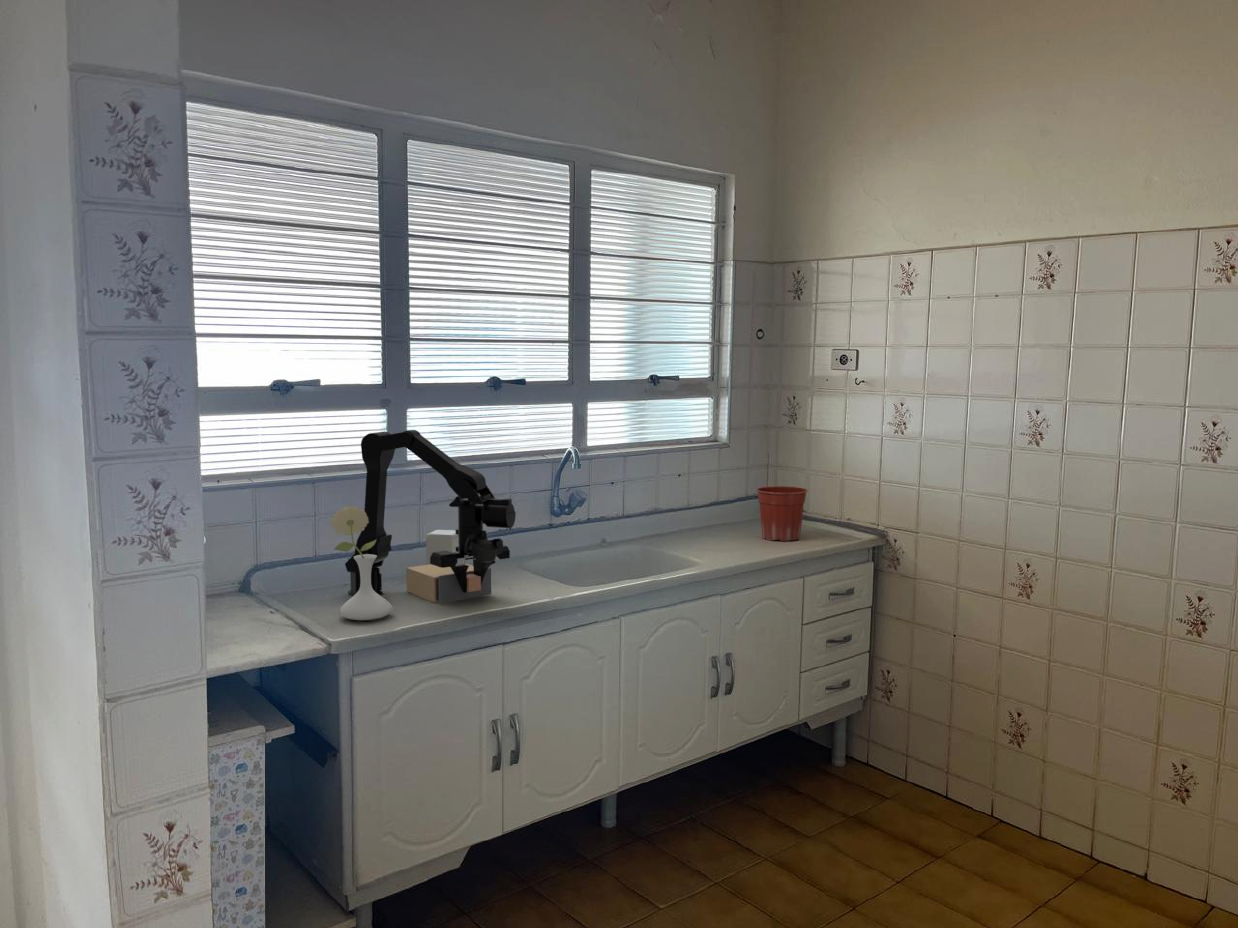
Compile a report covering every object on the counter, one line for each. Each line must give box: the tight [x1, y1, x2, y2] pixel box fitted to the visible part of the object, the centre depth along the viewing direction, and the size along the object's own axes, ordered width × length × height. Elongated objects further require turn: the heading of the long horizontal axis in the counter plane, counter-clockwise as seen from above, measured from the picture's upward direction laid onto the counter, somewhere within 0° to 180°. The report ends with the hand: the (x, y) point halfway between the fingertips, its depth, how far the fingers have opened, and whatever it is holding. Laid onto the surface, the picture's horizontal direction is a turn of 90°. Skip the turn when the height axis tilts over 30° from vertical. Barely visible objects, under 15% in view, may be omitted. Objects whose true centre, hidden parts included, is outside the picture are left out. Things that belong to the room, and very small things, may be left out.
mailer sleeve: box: [405, 563, 474, 604], centre depth 237 cm, size 14×14×6 cm
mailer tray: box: [436, 567, 492, 604], centre depth 233 cm, size 14×19×6 cm
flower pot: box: [755, 485, 809, 542], centre depth 312 cm, size 16×16×16 cm
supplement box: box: [425, 529, 459, 565], centre depth 251 cm, size 7×7×13 cm
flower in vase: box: [330, 505, 394, 621], centre depth 212 cm, size 13×11×25 cm
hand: (471, 591), depth 228 cm, fingers closed on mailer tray, 3 cm apart
